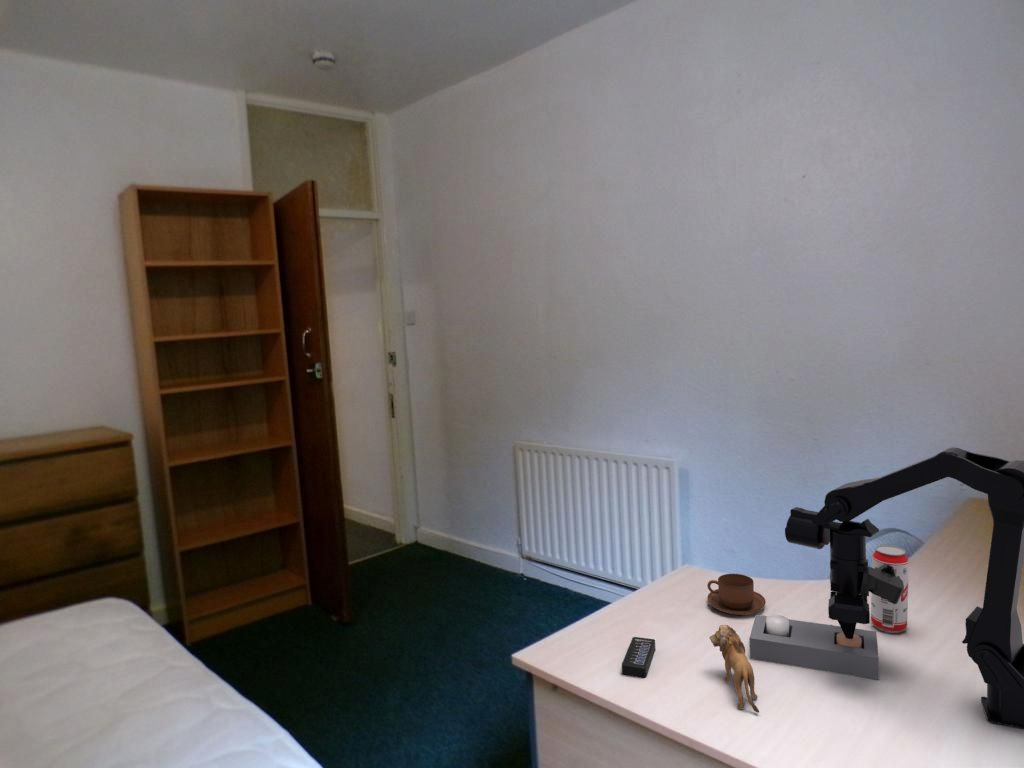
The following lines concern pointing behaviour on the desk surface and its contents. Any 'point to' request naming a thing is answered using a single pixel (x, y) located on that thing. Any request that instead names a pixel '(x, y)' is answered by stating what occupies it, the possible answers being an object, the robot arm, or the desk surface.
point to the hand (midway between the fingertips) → (849, 637)
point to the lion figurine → (735, 663)
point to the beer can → (882, 610)
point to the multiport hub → (638, 657)
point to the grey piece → (777, 625)
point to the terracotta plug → (849, 640)
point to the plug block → (816, 648)
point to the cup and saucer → (735, 595)
